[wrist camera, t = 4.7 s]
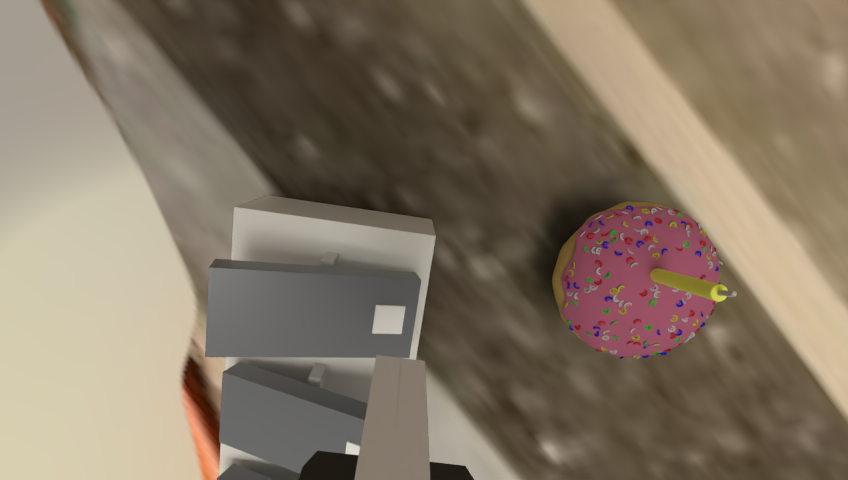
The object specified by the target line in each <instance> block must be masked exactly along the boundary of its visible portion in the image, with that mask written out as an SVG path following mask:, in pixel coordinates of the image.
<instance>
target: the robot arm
mask: <svg viewBox="0 0 848 480" xmlns="http://www.w3.org/2000/svg"><path fill="white" fill-rule="evenodd" d="M298 480H474V479H473V477H472V476H471V474H470V473H469V471H468V470H467V468H466V466H461V465H452V464H444V463H435V462H430V461H429V439H428V417H427V394H426V372H425V361H421V360H413V359H405V358H397V357H389V356H382V355H376V360H375V366H374V372H373V377H372V383H371V388H370V394H369V400H368V405H367V411H366V417H365V422H364V428H363V433H362V439H361V445H360V450H359V455H352V454H343V453H334V452H325V451H317V452H316V453H315V454H314V455H313V456H312V457H311V458H310V459H309V460H308V461H307V462H306V463H305V465H304V466H303V467H302V470H301V473H300V476H299V479H298Z"/></svg>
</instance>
